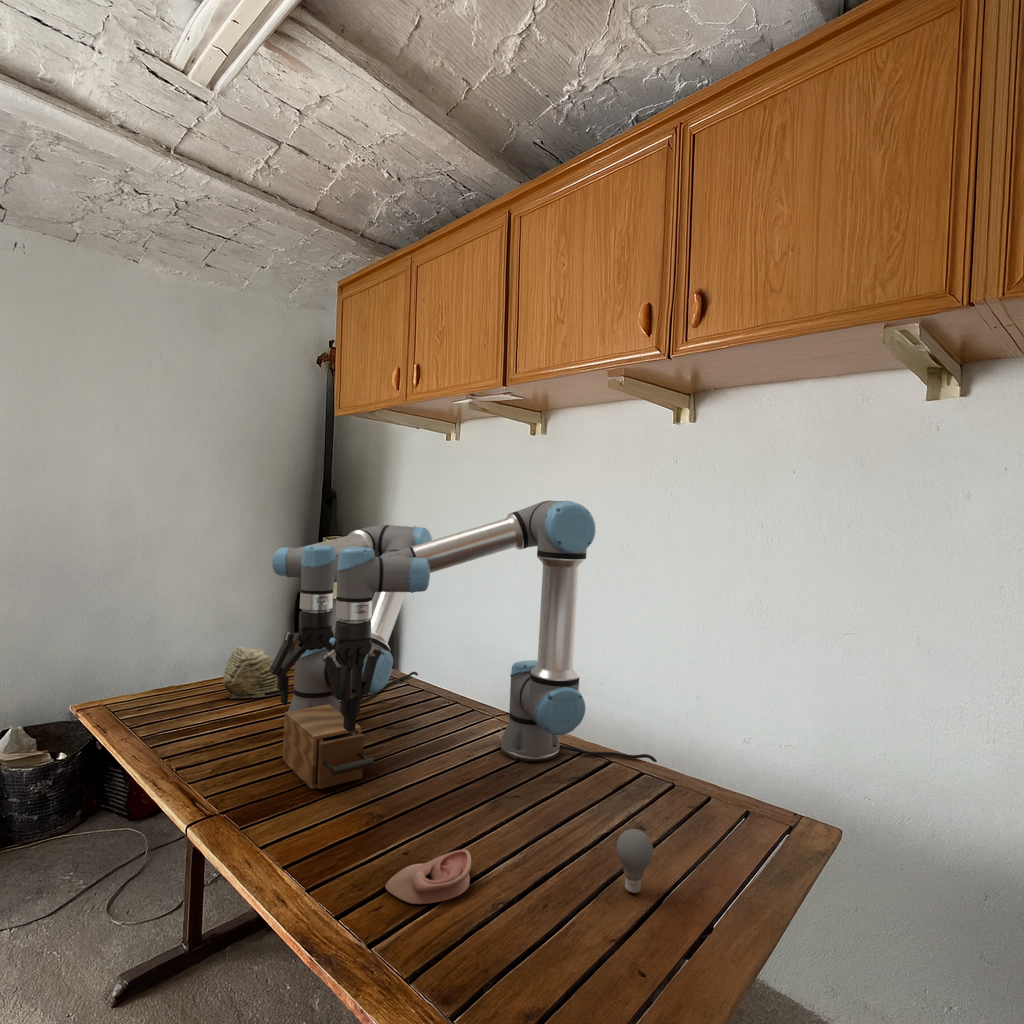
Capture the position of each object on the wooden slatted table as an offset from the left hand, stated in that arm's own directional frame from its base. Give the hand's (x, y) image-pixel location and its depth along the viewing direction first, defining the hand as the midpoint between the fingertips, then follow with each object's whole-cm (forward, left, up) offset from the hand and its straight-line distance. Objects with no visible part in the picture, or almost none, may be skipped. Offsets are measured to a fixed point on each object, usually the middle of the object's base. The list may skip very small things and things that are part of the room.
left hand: (312, 698), depth 151 cm
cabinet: (+1, +5, -15) cm, 16 cm away
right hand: (+4, +20, -1) cm, 20 cm away
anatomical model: (+15, +56, -15) cm, 60 cm away
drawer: (+2, +12, -14) cm, 18 cm away
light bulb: (-7, +82, -15) cm, 84 cm away
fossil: (-16, -54, -15) cm, 58 cm away
